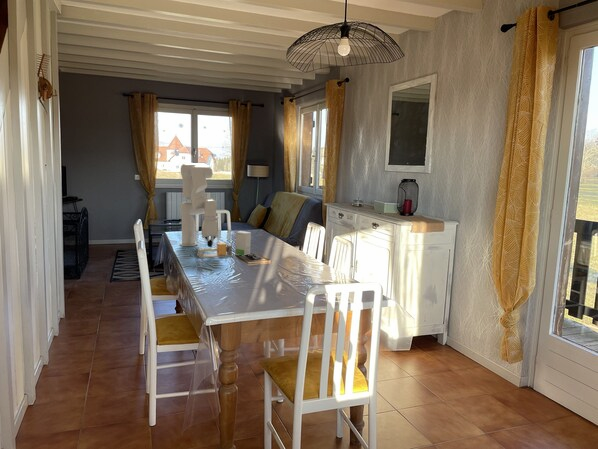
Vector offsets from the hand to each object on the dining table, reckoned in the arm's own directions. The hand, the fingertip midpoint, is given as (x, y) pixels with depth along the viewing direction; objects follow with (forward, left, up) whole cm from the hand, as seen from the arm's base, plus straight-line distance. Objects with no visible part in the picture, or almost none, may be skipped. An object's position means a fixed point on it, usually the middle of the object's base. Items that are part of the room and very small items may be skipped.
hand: (209, 246), depth 290 cm
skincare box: (+3, +21, -6) cm, 23 cm away
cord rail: (0, +3, -6) cm, 7 cm away
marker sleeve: (0, +8, -6) cm, 10 cm away
